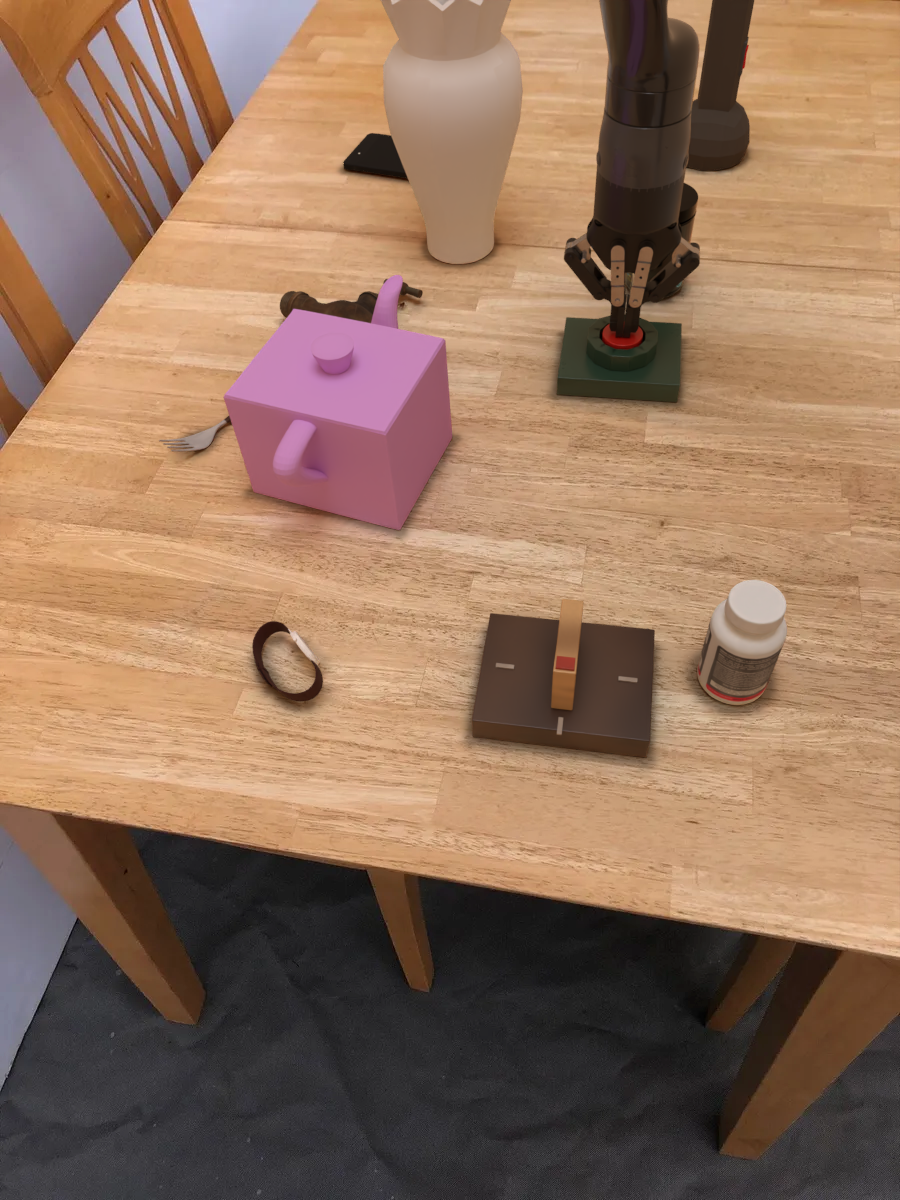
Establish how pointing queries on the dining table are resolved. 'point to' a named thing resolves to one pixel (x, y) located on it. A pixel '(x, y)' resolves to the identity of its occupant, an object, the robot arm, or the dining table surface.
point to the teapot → (345, 413)
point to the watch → (275, 626)
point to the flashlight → (721, 90)
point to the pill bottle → (743, 643)
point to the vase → (453, 116)
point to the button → (622, 339)
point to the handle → (566, 654)
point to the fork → (197, 438)
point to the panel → (602, 690)
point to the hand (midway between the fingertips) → (622, 332)
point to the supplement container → (686, 223)
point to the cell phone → (376, 157)
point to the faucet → (339, 304)
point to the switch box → (620, 362)
